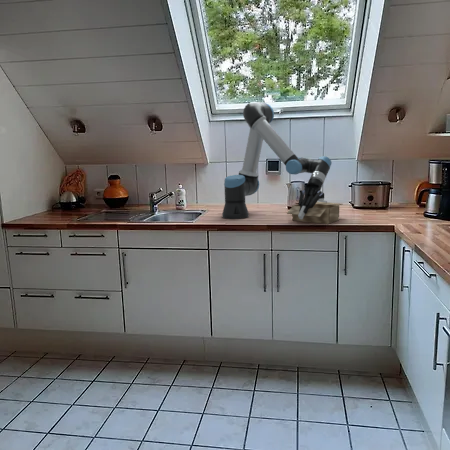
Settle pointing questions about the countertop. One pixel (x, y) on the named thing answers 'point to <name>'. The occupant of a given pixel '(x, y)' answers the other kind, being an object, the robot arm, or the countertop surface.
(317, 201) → the medicine bottle
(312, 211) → the flap
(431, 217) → the countertop surface
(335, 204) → the carton
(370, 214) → the countertop surface
